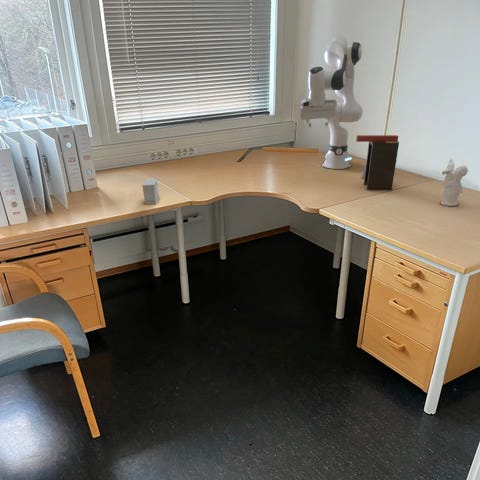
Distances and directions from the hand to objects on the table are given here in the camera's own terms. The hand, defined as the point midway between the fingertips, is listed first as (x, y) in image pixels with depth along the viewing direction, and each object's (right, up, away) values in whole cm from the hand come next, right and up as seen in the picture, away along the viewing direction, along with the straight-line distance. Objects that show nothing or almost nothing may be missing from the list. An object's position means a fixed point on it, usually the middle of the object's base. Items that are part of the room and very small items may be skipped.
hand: (318, 126), depth 272 cm
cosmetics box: (-93, -45, -9) cm, 103 cm away
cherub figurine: (+64, -49, -20) cm, 83 cm away
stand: (+36, -32, +8) cm, 49 cm away
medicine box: (+35, -23, +22) cm, 48 cm away
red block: (+31, -12, -9) cm, 34 cm away
